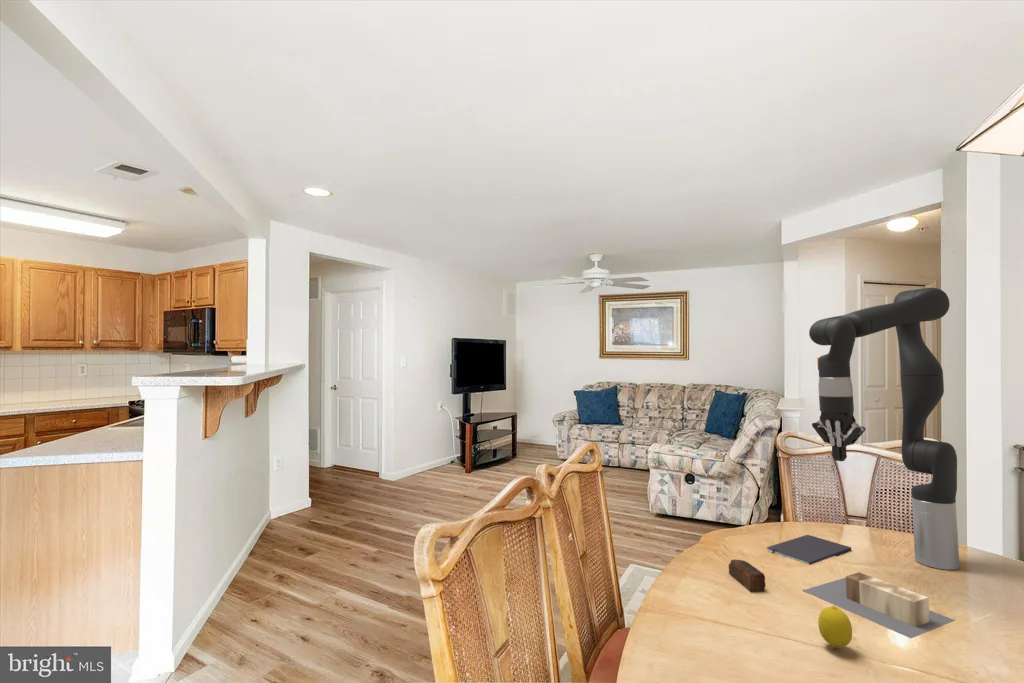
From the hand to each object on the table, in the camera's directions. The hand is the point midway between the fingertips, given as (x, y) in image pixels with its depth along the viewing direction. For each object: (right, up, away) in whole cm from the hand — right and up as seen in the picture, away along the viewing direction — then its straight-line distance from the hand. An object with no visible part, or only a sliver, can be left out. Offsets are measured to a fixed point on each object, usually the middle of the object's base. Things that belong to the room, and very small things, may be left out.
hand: (839, 460), depth 129 cm
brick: (-27, -30, -5) cm, 41 cm away
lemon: (-23, -29, -33) cm, 50 cm away
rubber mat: (-4, -29, -17) cm, 34 cm away
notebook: (+1, -31, +16) cm, 35 cm away
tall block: (-6, -26, -13) cm, 30 cm away
